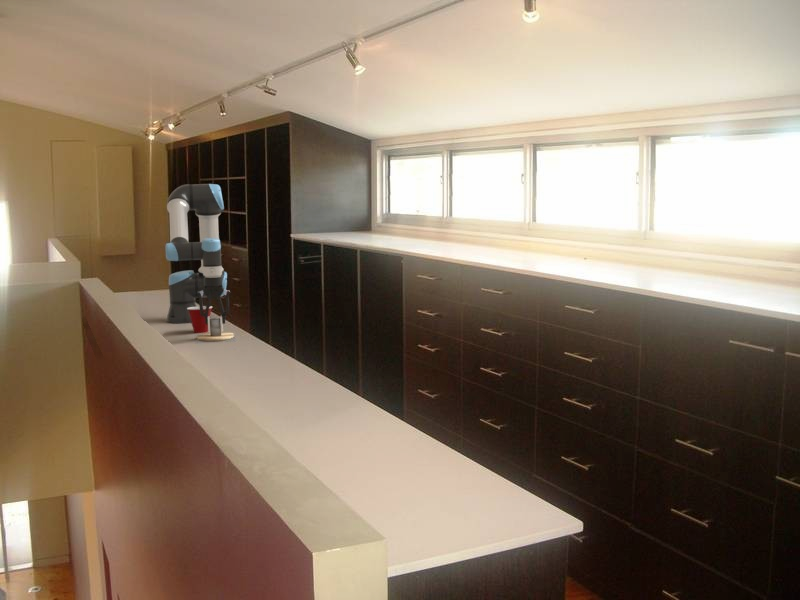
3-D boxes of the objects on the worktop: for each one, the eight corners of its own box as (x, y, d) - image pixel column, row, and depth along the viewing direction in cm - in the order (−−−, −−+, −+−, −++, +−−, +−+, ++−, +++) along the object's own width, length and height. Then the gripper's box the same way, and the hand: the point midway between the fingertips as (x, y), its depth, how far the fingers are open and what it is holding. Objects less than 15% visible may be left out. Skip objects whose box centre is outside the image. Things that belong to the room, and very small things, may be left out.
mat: (197, 337, 339) (197, 334, 339) (236, 335, 342) (236, 332, 342) (195, 345, 323) (195, 343, 322) (235, 343, 325) (235, 341, 325)
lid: (198, 335, 338) (197, 316, 337) (234, 333, 341) (233, 315, 339) (196, 342, 324) (195, 323, 322) (234, 340, 326) (233, 321, 325)
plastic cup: (211, 330, 354) (210, 303, 352) (215, 334, 344) (214, 307, 342) (186, 332, 350) (185, 305, 348) (190, 337, 340) (188, 309, 338)
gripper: (190, 278, 323) (193, 334, 326) (234, 276, 326) (236, 332, 330) (191, 275, 330) (194, 331, 334) (234, 274, 333) (237, 328, 337)
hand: (215, 331), depth 332 cm, fingers closed on lid, 4 cm apart
